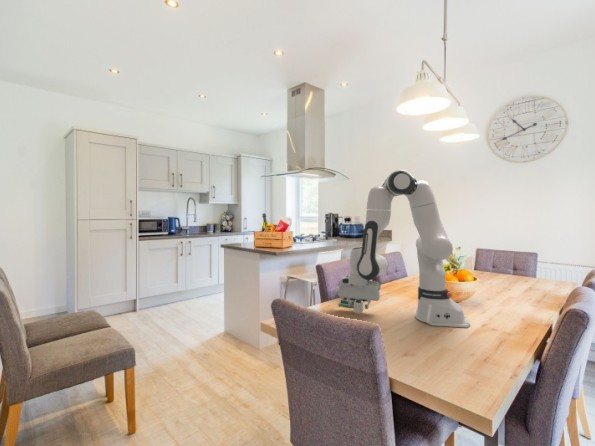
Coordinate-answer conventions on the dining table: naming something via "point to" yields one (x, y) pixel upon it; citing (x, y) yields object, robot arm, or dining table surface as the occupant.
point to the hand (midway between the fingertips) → (358, 307)
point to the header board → (345, 302)
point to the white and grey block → (358, 306)
